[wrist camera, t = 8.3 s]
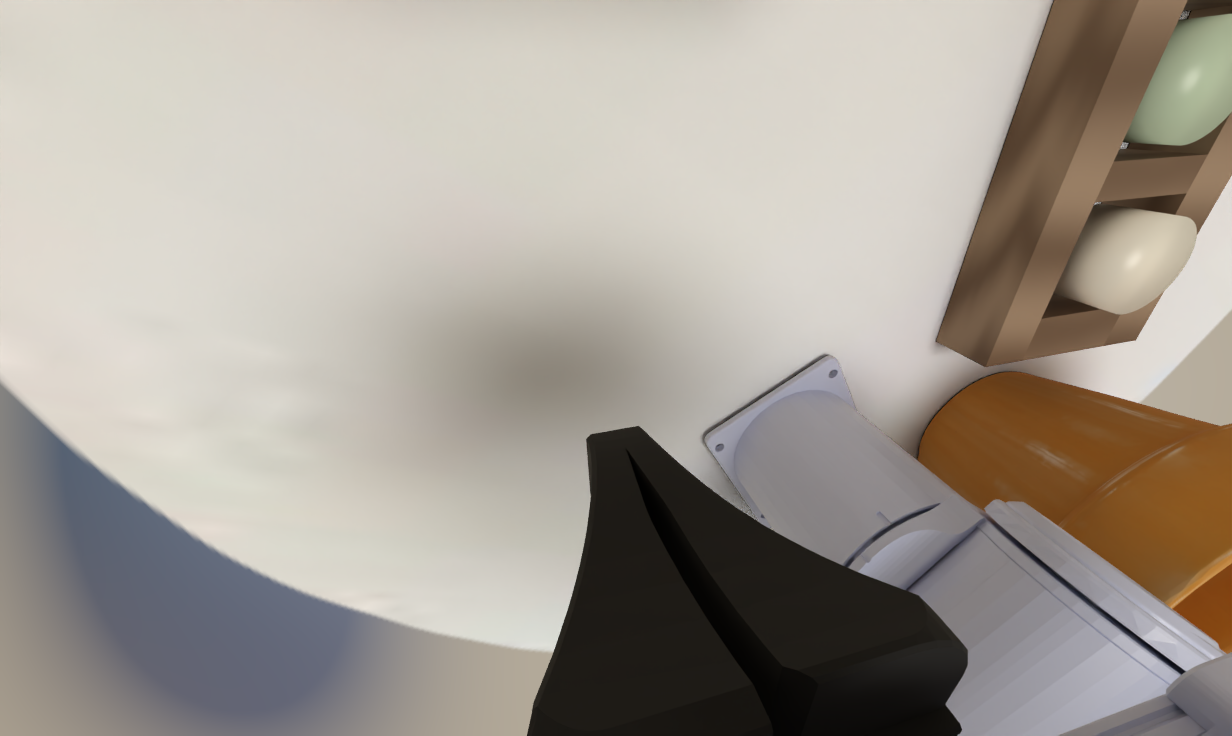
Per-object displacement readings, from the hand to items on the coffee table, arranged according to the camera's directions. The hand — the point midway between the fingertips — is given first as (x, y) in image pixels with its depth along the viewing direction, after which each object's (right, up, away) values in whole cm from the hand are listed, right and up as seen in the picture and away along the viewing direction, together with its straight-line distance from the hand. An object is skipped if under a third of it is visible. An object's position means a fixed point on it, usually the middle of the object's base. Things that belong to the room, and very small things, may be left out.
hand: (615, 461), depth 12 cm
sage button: (+22, +15, +9) cm, 28 cm away
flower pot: (+23, -1, +19) cm, 30 cm away
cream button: (+23, +8, +11) cm, 27 cm away
